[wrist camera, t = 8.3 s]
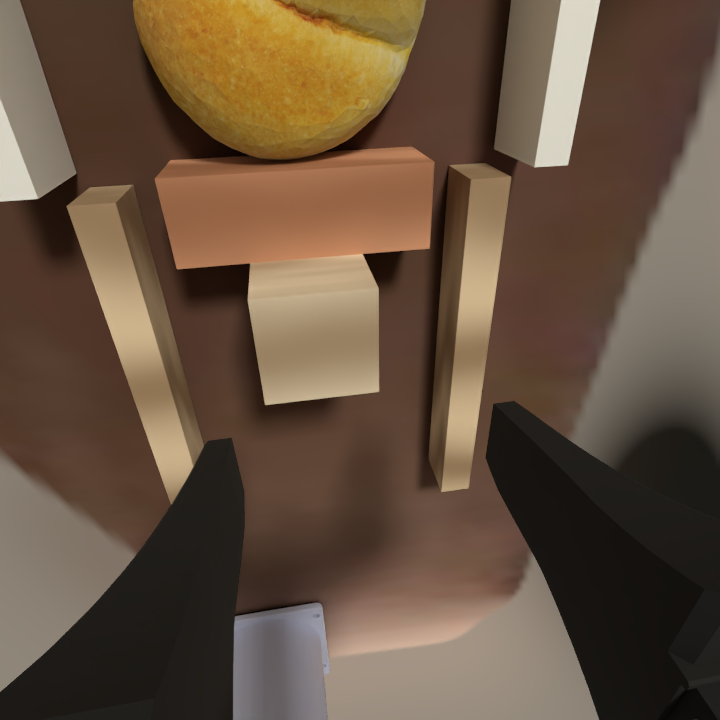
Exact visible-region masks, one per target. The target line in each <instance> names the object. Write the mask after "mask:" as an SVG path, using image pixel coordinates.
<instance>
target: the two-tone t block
mask: <svg viewBox="0 0 720 720" xmlns="http://www.w3.org/2000/svg"><path fill="white" fill-rule="evenodd" d="M433 179H434V161H432V160H431V159H429V158H428V157H427V156H425V155H424V154H422V153H421V152H419V151H418V150H416V149H415V148H413V147H398V148H380V149H363V150H345V151H327V152H321V153H319V154H315V155H312V156H308V157H303V158H299V159H289V160H270V159H260V158H256V157H253V156H238V157H221V158H203V159H185V160H170V161H169V163H168V164H167V165H166V166H165V167H164V169H163V170H162V171H161V172H160V173H159V174H158V176H157V177H156V178H155V182H156V186H157V190H158V194H159V198H160V203H161V207H162V211H163V215H164V219H165V223H166V227H167V231H168V235H169V239H170V243H171V247H172V252H173V256H174V260H175V264H176V268H177V269H188V268H200V267H212V266H224V265H236V264H248V263H250V274H249V288H248V306H249V312H250V318H251V324H252V330H253V336H254V342H255V348H256V354H257V360H258V366H259V372H260V378H261V384H262V390H263V396H264V401H265V405H271V404H280V403H288V402H297V401H305V400H314V399H322V398H331V397H339V396H347V395H356V394H364V393H373V392H379V288H378V286H377V284H376V282H375V280H374V277H373V275H372V273H371V271H370V269H369V267H368V265H367V262H366V260H365V258H364V256H363V254H369V253H381V252H393V251H405V250H417V249H429V248H430V234H431V216H432V197H433Z"/></svg>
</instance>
